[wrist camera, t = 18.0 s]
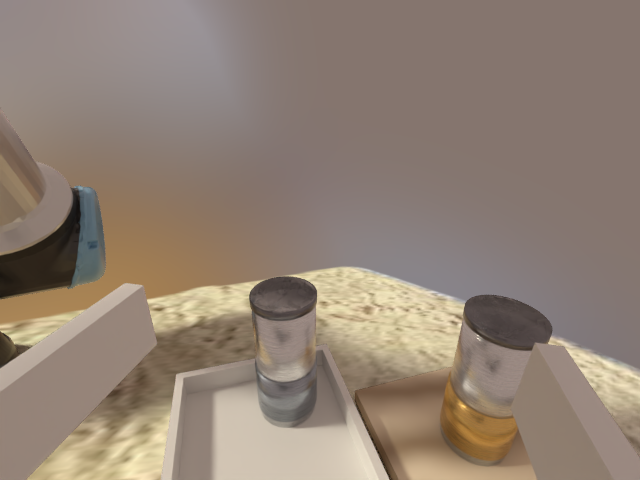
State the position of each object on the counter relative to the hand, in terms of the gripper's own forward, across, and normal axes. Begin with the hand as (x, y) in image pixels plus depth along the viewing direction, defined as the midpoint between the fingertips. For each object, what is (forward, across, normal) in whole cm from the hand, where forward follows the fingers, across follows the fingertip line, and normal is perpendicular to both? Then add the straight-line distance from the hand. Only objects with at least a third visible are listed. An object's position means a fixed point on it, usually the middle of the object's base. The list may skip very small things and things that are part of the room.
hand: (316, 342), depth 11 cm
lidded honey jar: (+15, +12, -22) cm, 30 cm away
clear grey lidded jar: (+15, -6, -23) cm, 28 cm away
